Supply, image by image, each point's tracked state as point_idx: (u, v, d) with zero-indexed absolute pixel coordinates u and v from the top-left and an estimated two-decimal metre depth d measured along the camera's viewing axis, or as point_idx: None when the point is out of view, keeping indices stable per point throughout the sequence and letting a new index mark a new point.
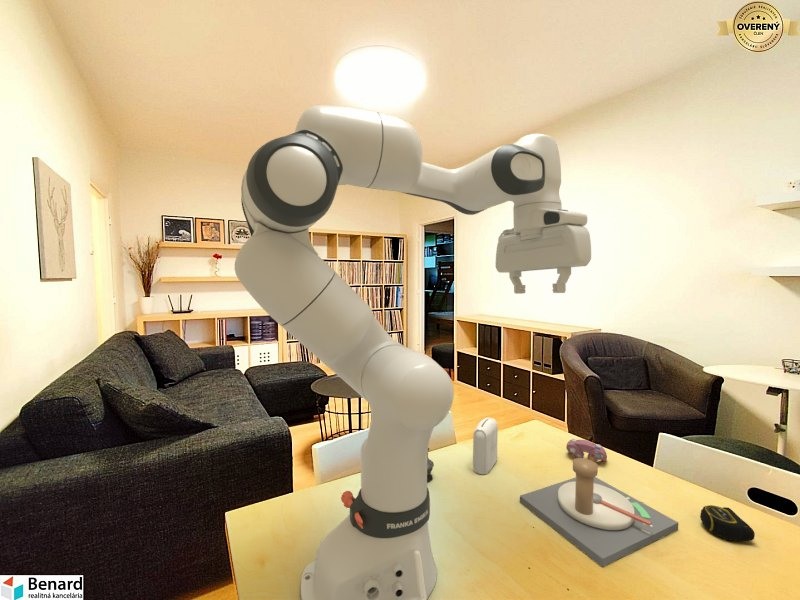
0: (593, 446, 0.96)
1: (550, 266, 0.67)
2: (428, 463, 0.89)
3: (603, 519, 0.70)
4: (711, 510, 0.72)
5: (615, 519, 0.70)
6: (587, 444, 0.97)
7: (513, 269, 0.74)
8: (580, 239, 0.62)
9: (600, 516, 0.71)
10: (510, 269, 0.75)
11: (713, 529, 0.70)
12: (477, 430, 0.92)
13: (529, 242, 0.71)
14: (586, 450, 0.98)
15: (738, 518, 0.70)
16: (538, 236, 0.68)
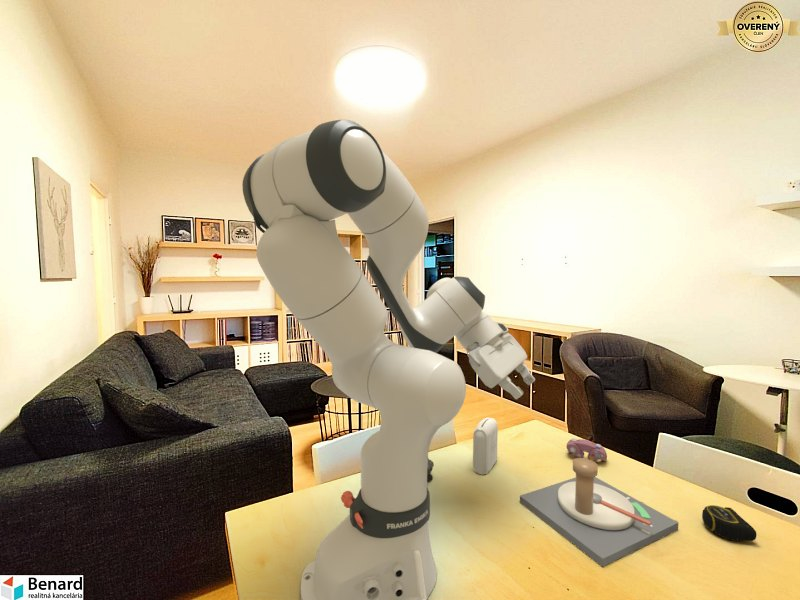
0: (593, 446, 0.96)
1: (521, 361, 0.81)
2: (428, 463, 0.89)
3: (603, 519, 0.70)
4: (713, 510, 0.72)
5: (615, 519, 0.70)
6: (587, 444, 0.97)
7: (509, 371, 0.73)
8: None
9: (600, 516, 0.71)
10: (507, 372, 0.73)
11: (715, 529, 0.70)
12: (477, 430, 0.92)
13: (498, 348, 0.78)
14: (586, 450, 0.98)
15: (740, 518, 0.70)
16: None
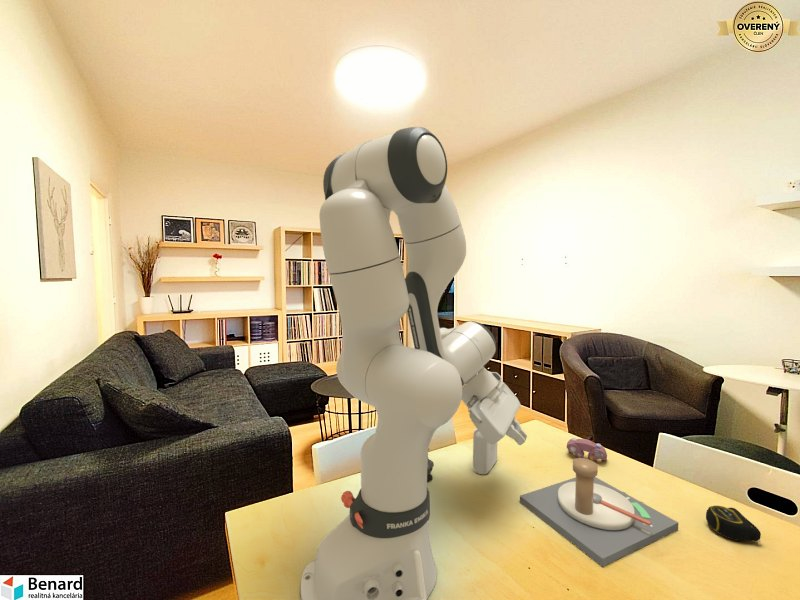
0: (593, 445, 0.97)
1: (516, 411, 0.82)
2: (428, 463, 0.89)
3: (603, 519, 0.70)
4: (717, 510, 0.72)
5: (615, 519, 0.70)
6: (587, 443, 0.97)
7: (508, 425, 0.74)
8: None
9: (600, 516, 0.71)
10: (507, 427, 0.74)
11: (719, 529, 0.69)
12: (477, 430, 0.92)
13: (495, 400, 0.80)
14: (586, 449, 0.98)
15: (744, 518, 0.70)
16: None
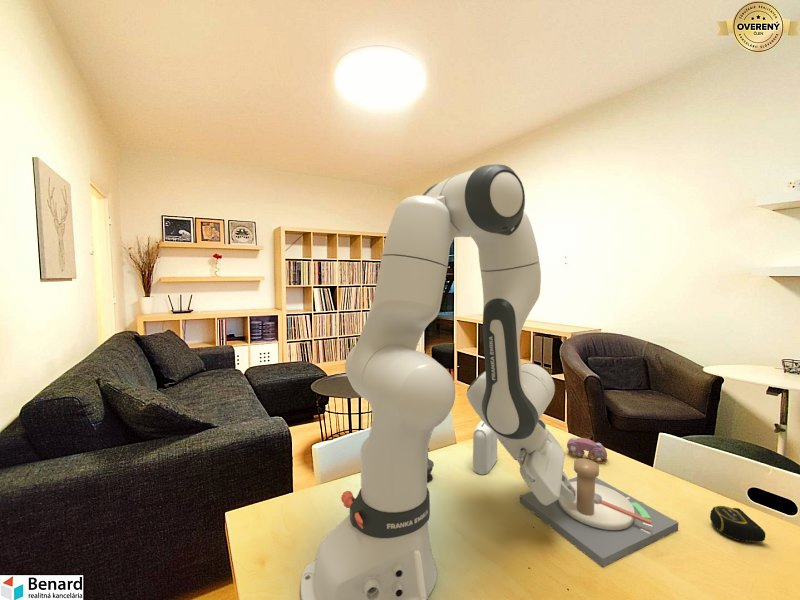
0: (593, 444, 0.97)
1: (563, 463, 0.78)
2: (428, 463, 0.89)
3: (605, 520, 0.70)
4: (721, 511, 0.72)
5: (617, 519, 0.70)
6: (587, 442, 0.98)
7: (560, 483, 0.70)
8: None
9: (602, 517, 0.70)
10: (560, 485, 0.70)
11: (723, 530, 0.69)
12: (477, 430, 0.92)
13: (543, 452, 0.75)
14: (586, 448, 0.98)
15: (748, 519, 0.69)
16: None
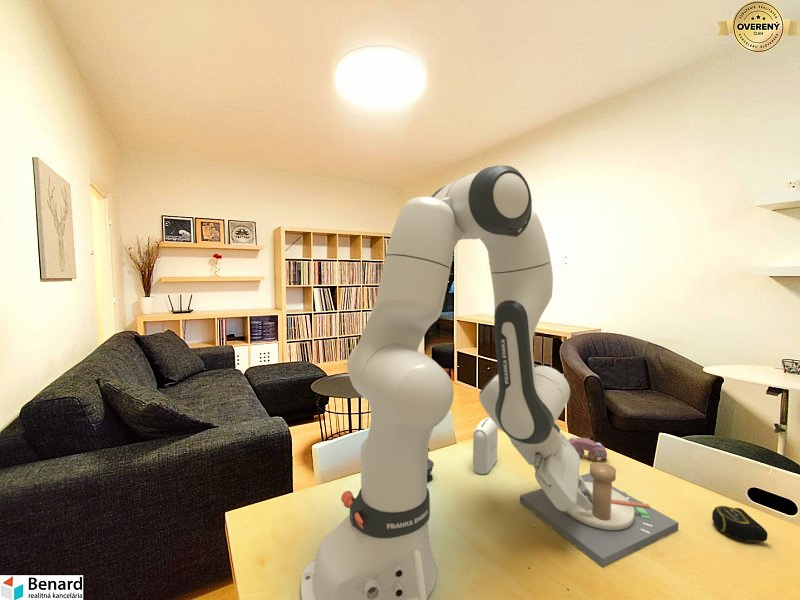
0: (593, 444, 0.97)
1: None
2: (428, 463, 0.89)
3: (623, 519, 0.70)
4: (723, 511, 0.72)
5: (628, 514, 0.71)
6: (587, 442, 0.98)
7: (577, 489, 0.69)
8: None
9: (618, 516, 0.71)
10: (576, 491, 0.68)
11: (725, 530, 0.69)
12: (477, 430, 0.92)
13: (559, 457, 0.74)
14: (586, 448, 0.99)
15: (750, 519, 0.69)
16: None
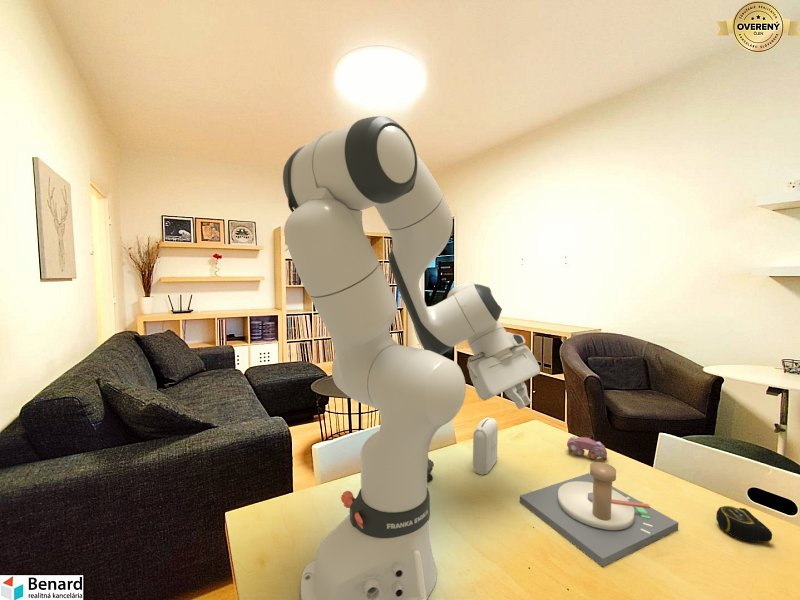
0: (593, 443, 0.98)
1: (529, 377, 0.81)
2: (428, 463, 0.89)
3: (623, 518, 0.70)
4: (727, 511, 0.72)
5: (628, 513, 0.71)
6: (587, 441, 0.98)
7: (506, 387, 0.75)
8: None
9: (618, 516, 0.71)
10: (504, 388, 0.74)
11: (730, 530, 0.69)
12: (477, 430, 0.92)
13: (505, 361, 0.79)
14: (586, 447, 0.99)
15: (755, 519, 0.69)
16: (512, 354, 0.81)
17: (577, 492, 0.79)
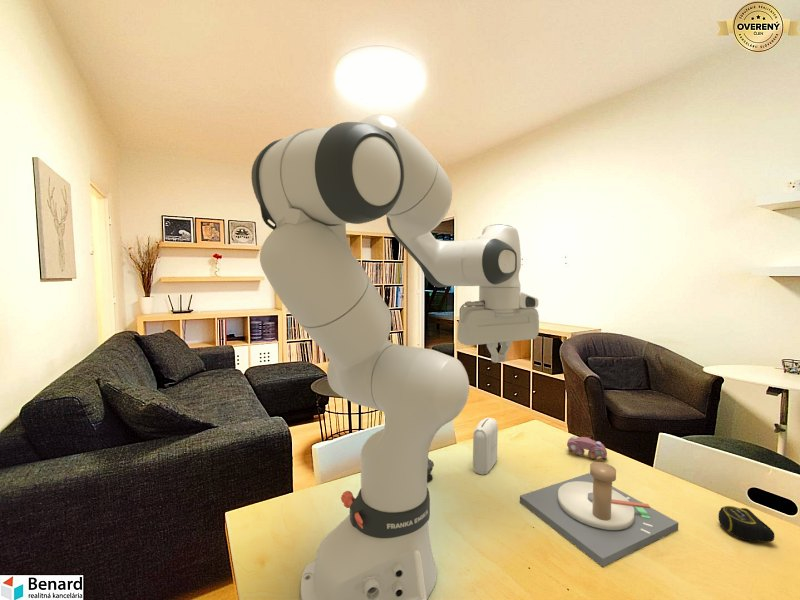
0: (593, 443, 0.98)
1: (519, 339, 0.81)
2: (428, 463, 0.89)
3: (623, 518, 0.70)
4: (729, 511, 0.72)
5: (628, 513, 0.71)
6: (587, 441, 0.98)
7: (486, 342, 0.77)
8: None
9: (618, 516, 0.71)
10: (483, 342, 0.77)
11: (732, 530, 0.69)
12: (477, 430, 0.92)
13: (501, 318, 0.79)
14: (586, 447, 0.99)
15: (757, 519, 0.69)
16: (513, 314, 0.79)
17: (577, 492, 0.79)
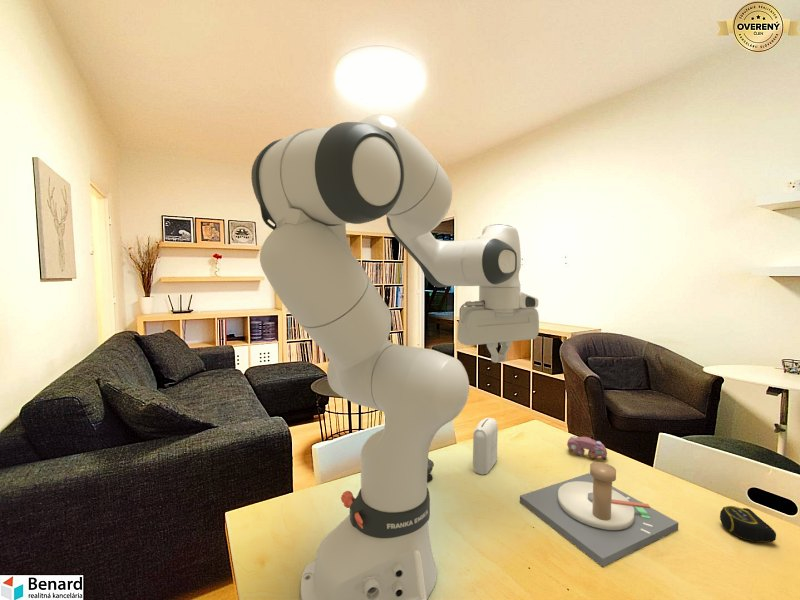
0: (594, 443, 0.98)
1: (519, 339, 0.81)
2: (428, 463, 0.89)
3: (623, 518, 0.70)
4: (731, 511, 0.72)
5: (628, 513, 0.71)
6: (588, 441, 0.99)
7: (486, 342, 0.77)
8: None
9: (618, 516, 0.71)
10: (483, 342, 0.77)
11: (733, 530, 0.69)
12: (477, 430, 0.92)
13: (501, 318, 0.79)
14: (587, 447, 0.99)
15: (759, 519, 0.69)
16: (513, 314, 0.79)
17: (577, 492, 0.79)
